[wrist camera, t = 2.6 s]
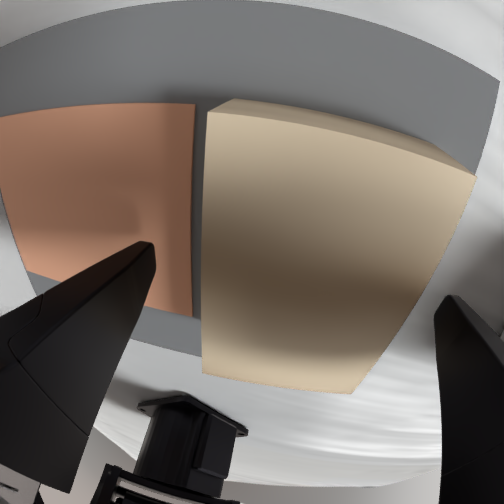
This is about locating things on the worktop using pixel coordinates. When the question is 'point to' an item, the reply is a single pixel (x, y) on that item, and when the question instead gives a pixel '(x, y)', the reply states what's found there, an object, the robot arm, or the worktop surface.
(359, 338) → the card box
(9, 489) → the robot arm
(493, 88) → the mat
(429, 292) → the worktop surface
